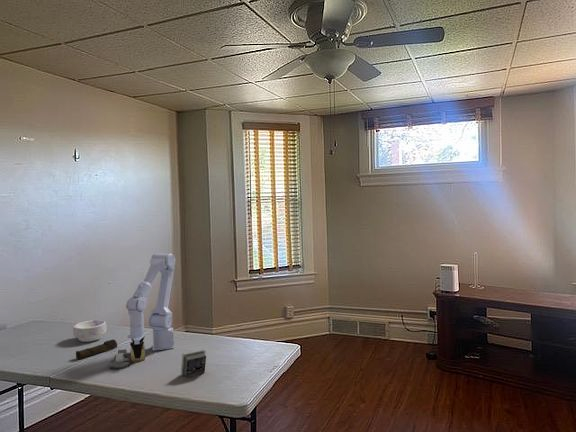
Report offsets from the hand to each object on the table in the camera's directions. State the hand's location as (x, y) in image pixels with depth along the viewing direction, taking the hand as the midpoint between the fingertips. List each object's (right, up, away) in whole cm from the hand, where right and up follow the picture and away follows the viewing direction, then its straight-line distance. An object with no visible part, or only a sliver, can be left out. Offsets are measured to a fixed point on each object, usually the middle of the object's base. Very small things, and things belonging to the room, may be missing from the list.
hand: (138, 355), depth 189 cm
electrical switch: (+29, -2, -18) cm, 34 cm away
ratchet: (-7, -2, -2) cm, 7 cm away
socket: (0, -1, 0) cm, 1 cm away
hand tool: (-22, -2, +9) cm, 24 cm away
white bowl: (-35, -2, +30) cm, 46 cm away
